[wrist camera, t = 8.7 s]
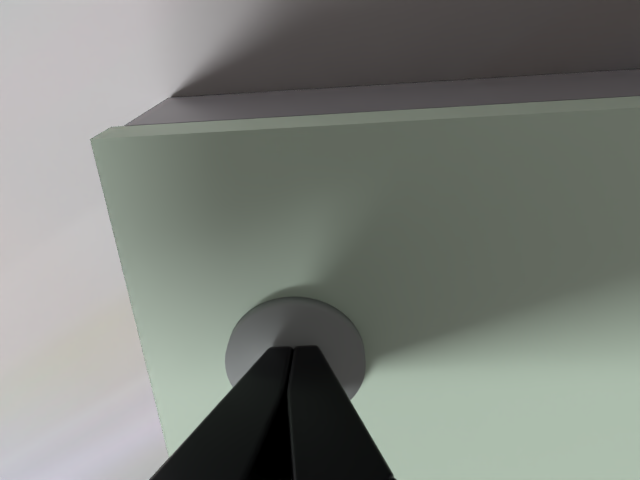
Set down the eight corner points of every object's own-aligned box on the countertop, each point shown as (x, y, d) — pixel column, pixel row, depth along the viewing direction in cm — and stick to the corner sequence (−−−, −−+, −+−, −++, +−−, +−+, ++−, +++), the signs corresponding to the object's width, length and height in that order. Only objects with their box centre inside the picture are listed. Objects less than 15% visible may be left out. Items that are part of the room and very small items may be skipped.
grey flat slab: (798, 492, 15) (881, 581, 13) (242, 506, 16) (226, 591, 14) (1000, 47, 10) (1196, 62, 8) (168, 98, 11) (124, 125, 8)
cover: (893, 585, 13) (941, 635, 12) (218, 596, 13) (209, 643, 12) (1214, 62, 8) (1348, 72, 7) (110, 126, 8) (81, 144, 7)
